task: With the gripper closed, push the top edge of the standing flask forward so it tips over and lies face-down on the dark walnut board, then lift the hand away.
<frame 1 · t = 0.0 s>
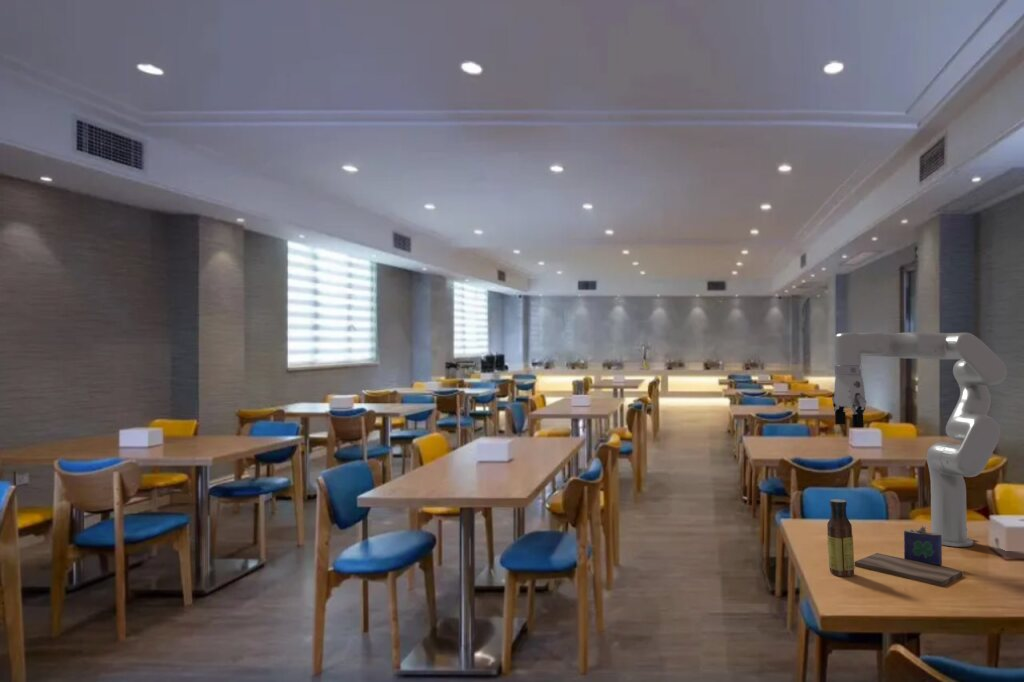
hand: (848, 425, 214), 37 cm above the table, tool pointing down, fingers open, 9 cm apart
sauce bottle: (841, 574, 183), on the table
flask: (922, 564, 192), on the table
walnut board: (907, 570, 186), on the table
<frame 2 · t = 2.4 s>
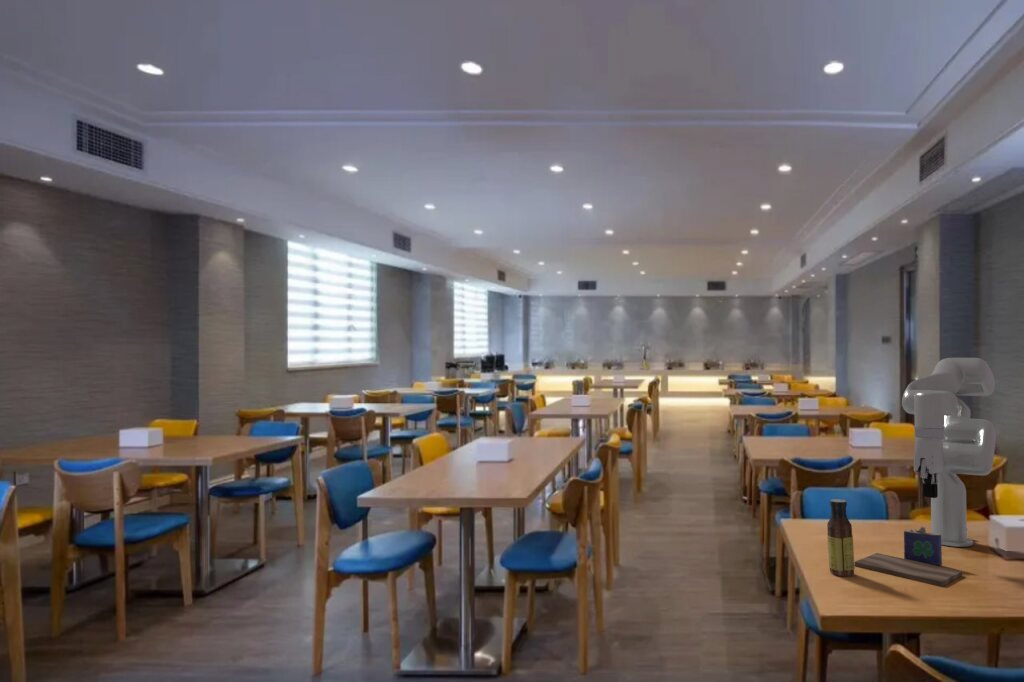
hand: (930, 496, 197), 18 cm above the table, tool pointing down, fingers closed
nothing on the table moved.
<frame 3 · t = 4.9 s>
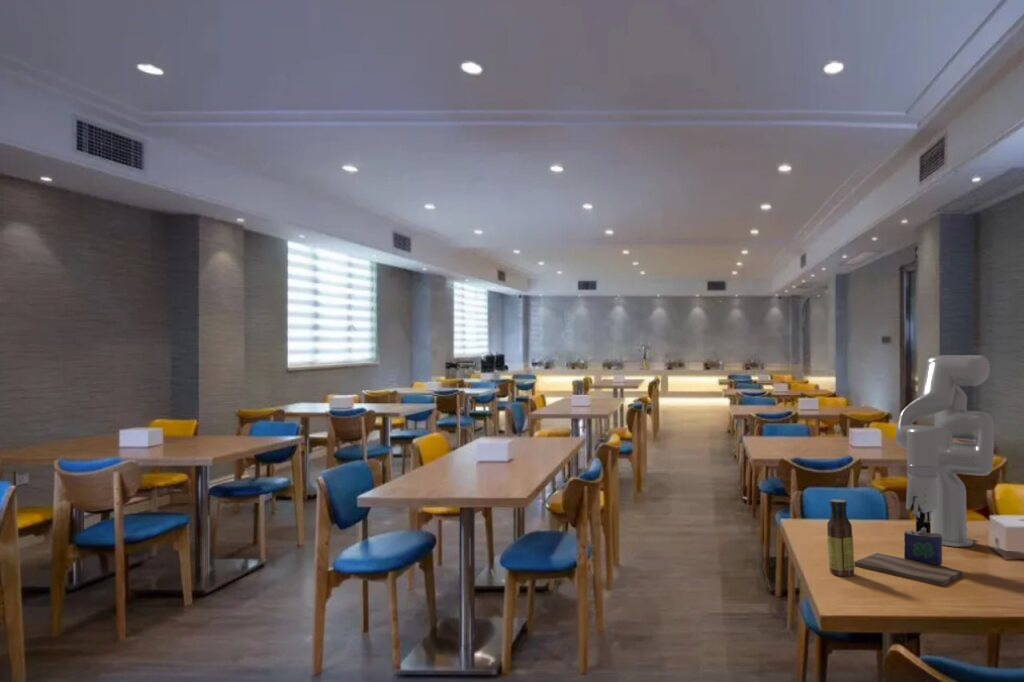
hand: (923, 535, 193), 8 cm above the table, tool pointing down, fingers closed
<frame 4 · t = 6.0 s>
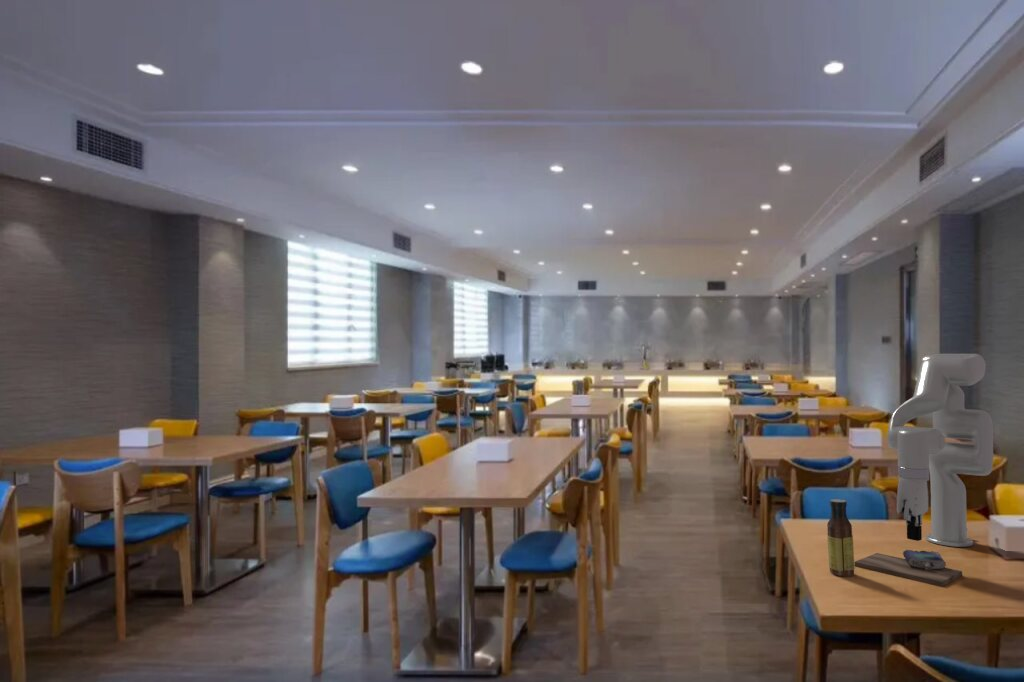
hand: (914, 539, 189), 8 cm above the table, tool pointing down, fingers closed
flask: (921, 555, 192), point 3 cm above the table, touching walnut board
everything else where it was.
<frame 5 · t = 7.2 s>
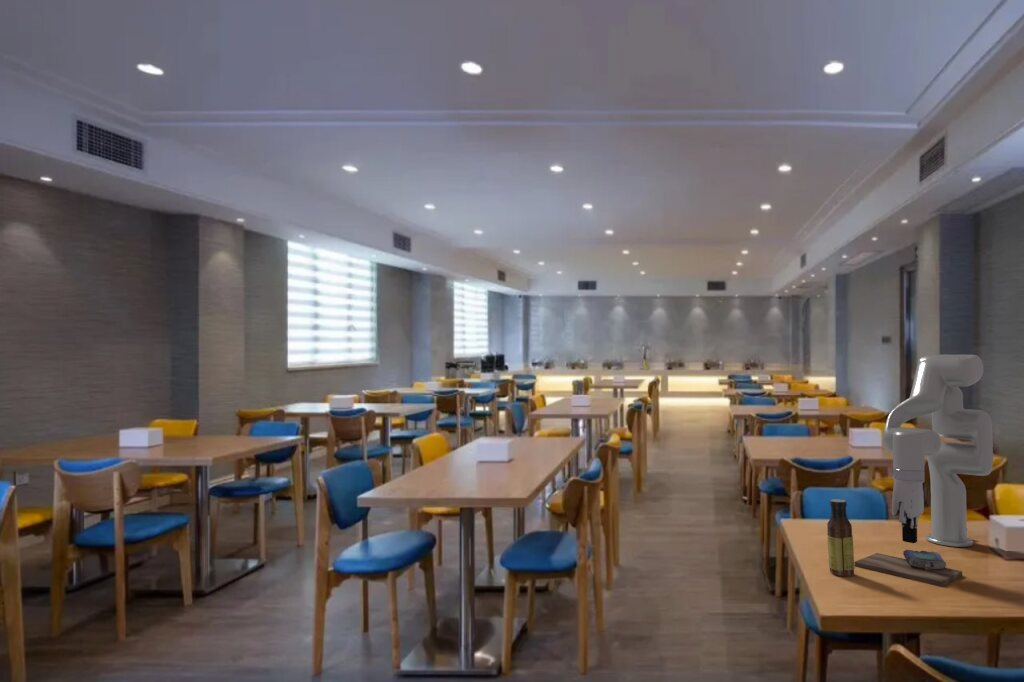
hand: (909, 541, 187), 8 cm above the table, tool pointing down, fingers closed
nothing on the table moved.
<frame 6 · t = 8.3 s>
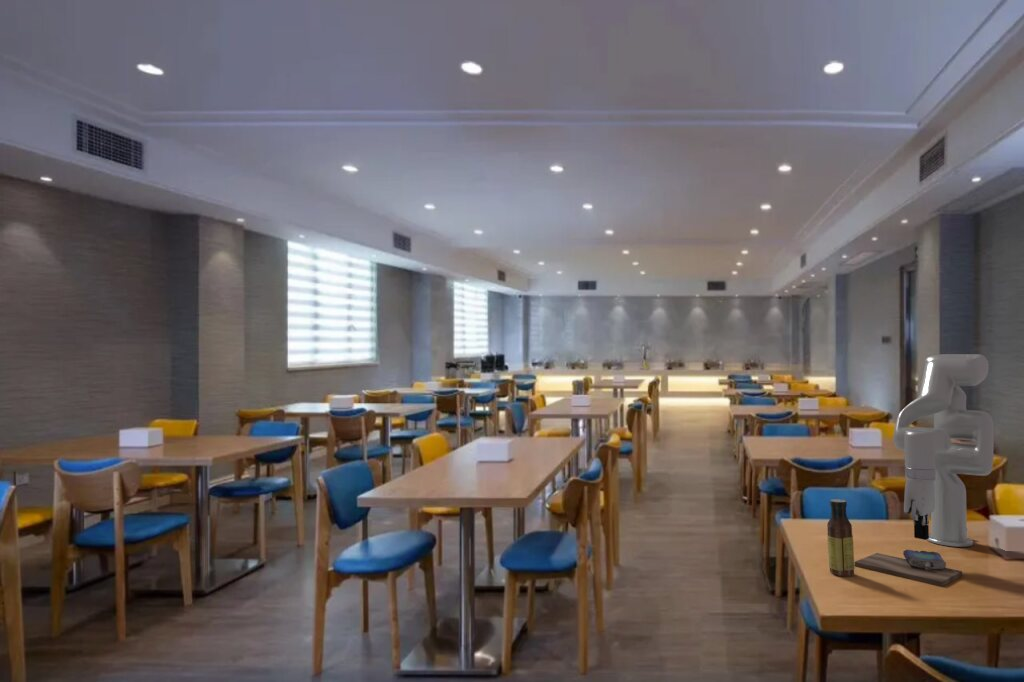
hand: (921, 538, 192), 7 cm above the table, tool pointing down, fingers closed
nothing on the table moved.
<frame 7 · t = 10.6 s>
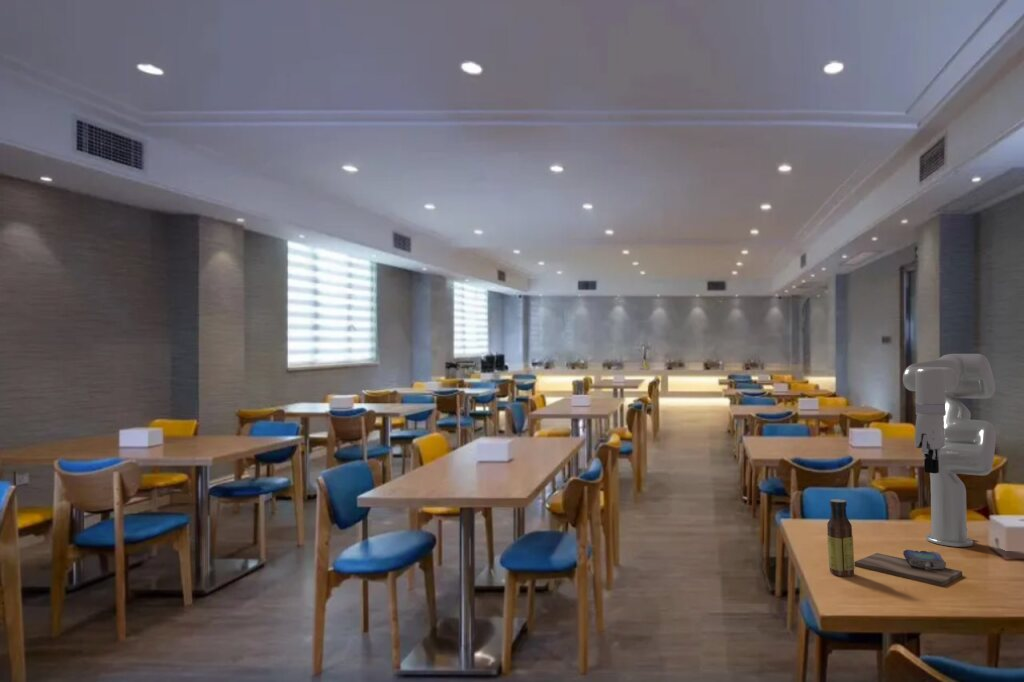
hand: (931, 472, 198), 25 cm above the table, tool pointing down, fingers closed
nothing on the table moved.
at the end: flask tilted 90°; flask touching walnut board; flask inside the target area (6.3 cm from its centre), point 2.6 cm above the table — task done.
